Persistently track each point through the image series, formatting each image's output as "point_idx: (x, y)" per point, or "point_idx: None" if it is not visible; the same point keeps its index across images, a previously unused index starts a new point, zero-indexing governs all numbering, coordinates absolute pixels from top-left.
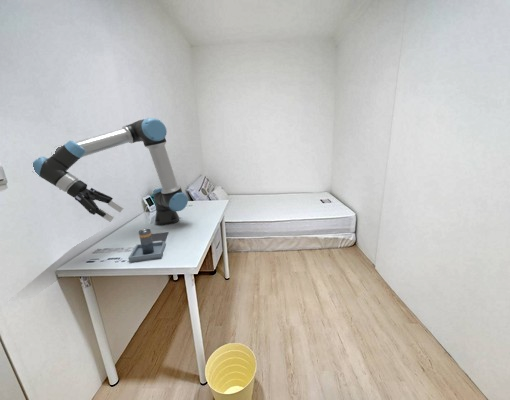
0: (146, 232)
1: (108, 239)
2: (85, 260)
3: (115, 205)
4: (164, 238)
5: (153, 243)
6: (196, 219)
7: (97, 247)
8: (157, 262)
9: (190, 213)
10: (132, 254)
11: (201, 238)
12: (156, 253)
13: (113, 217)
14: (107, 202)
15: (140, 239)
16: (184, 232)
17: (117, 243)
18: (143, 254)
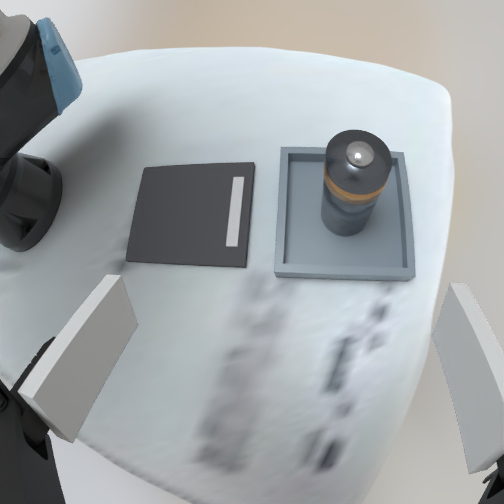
0: (385, 145)
1: (106, 429)
2: (306, 479)
3: (86, 353)
4: (210, 171)
5: (286, 193)
6: (74, 107)
7: (178, 464)
8: (421, 175)
9: None
10: (382, 267)
11: (258, 61)
12: (400, 166)
13: (465, 288)
14: (44, 445)
15: (373, 201)
16: (170, 116)
17: (163, 388)
18: (363, 230)
